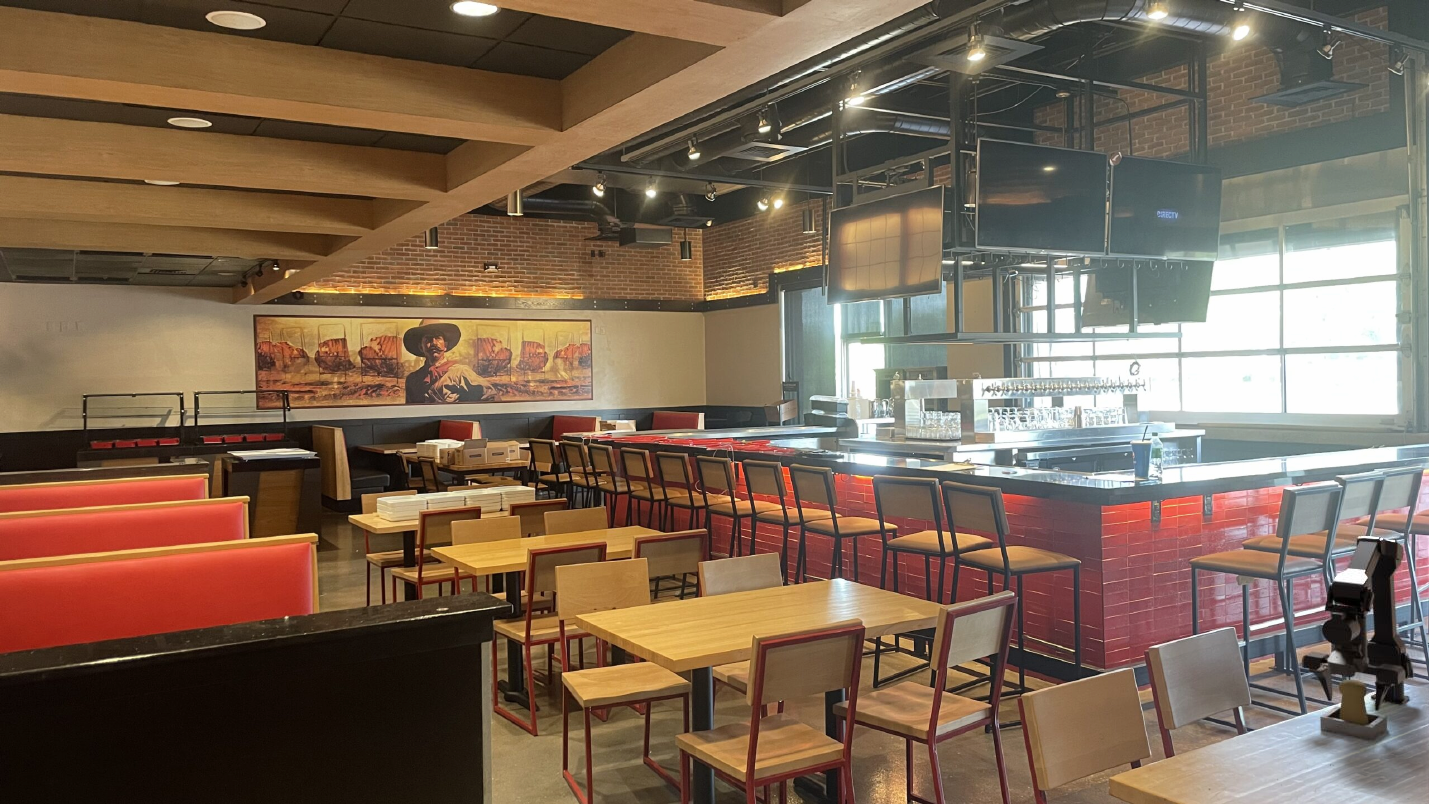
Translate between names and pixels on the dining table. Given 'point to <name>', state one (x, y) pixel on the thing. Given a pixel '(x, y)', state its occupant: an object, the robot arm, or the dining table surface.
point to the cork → (1353, 702)
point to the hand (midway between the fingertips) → (1353, 705)
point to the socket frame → (1353, 725)
